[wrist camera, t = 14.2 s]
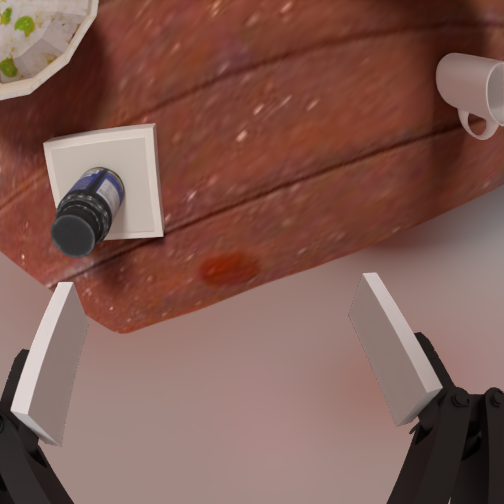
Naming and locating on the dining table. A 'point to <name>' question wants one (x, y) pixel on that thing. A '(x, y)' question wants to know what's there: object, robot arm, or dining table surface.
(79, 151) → the square plate
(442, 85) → the mug
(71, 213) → the pill bottle
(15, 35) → the bowl
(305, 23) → the dining table surface
